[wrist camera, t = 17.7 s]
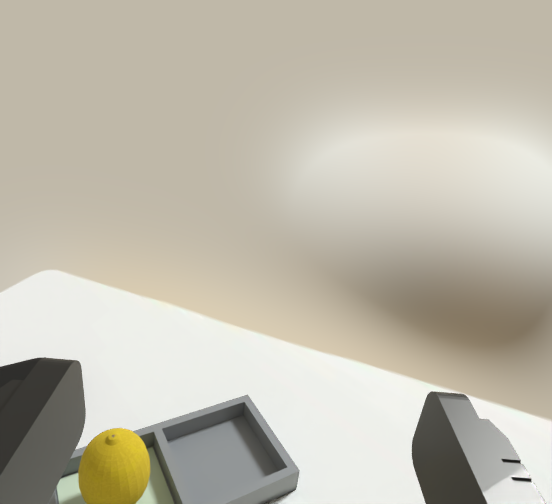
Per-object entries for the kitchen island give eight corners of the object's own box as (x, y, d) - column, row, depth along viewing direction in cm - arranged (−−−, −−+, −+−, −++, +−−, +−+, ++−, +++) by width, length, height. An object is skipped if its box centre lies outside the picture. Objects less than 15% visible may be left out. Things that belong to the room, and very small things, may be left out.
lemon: (120, 548, 35) (116, 478, 32) (67, 516, 37) (57, 446, 33) (164, 491, 40) (164, 425, 36) (114, 465, 41) (110, 400, 38)
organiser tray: (245, 411, 50) (247, 394, 49) (296, 489, 42) (299, 470, 41) (42, 480, 40) (39, 461, 39) (57, 600, 32) (53, 579, 31)
